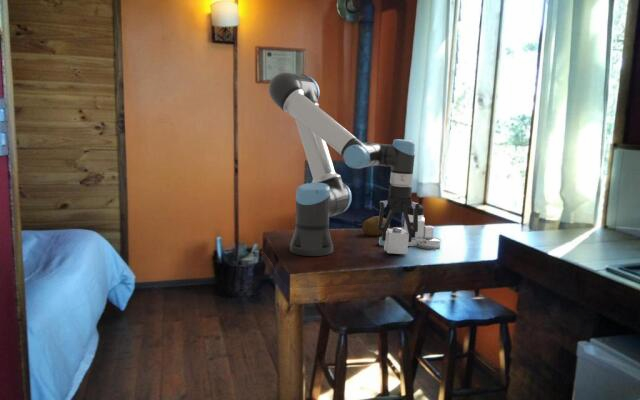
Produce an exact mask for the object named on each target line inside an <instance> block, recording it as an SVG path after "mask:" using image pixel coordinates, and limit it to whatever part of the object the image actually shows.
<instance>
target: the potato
mask: <svg viewBox="0 0 640 400" xmlns="http://www.w3.org/2000/svg"><path fill="white" fill-rule="evenodd" d="M378 219H379V215H376V216H372V217H369V218H367V219H365V220H363V222H362V232H363V233H364V234H365V235H368V236H382V231H381V230H378V228H377V226H378ZM386 219H387V218H385V217H383V222H382V227H383V226H384V223H385V221H386ZM390 226H391V223H390V224H389V226H388V228H387V229H391V228H390Z"/></svg>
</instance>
